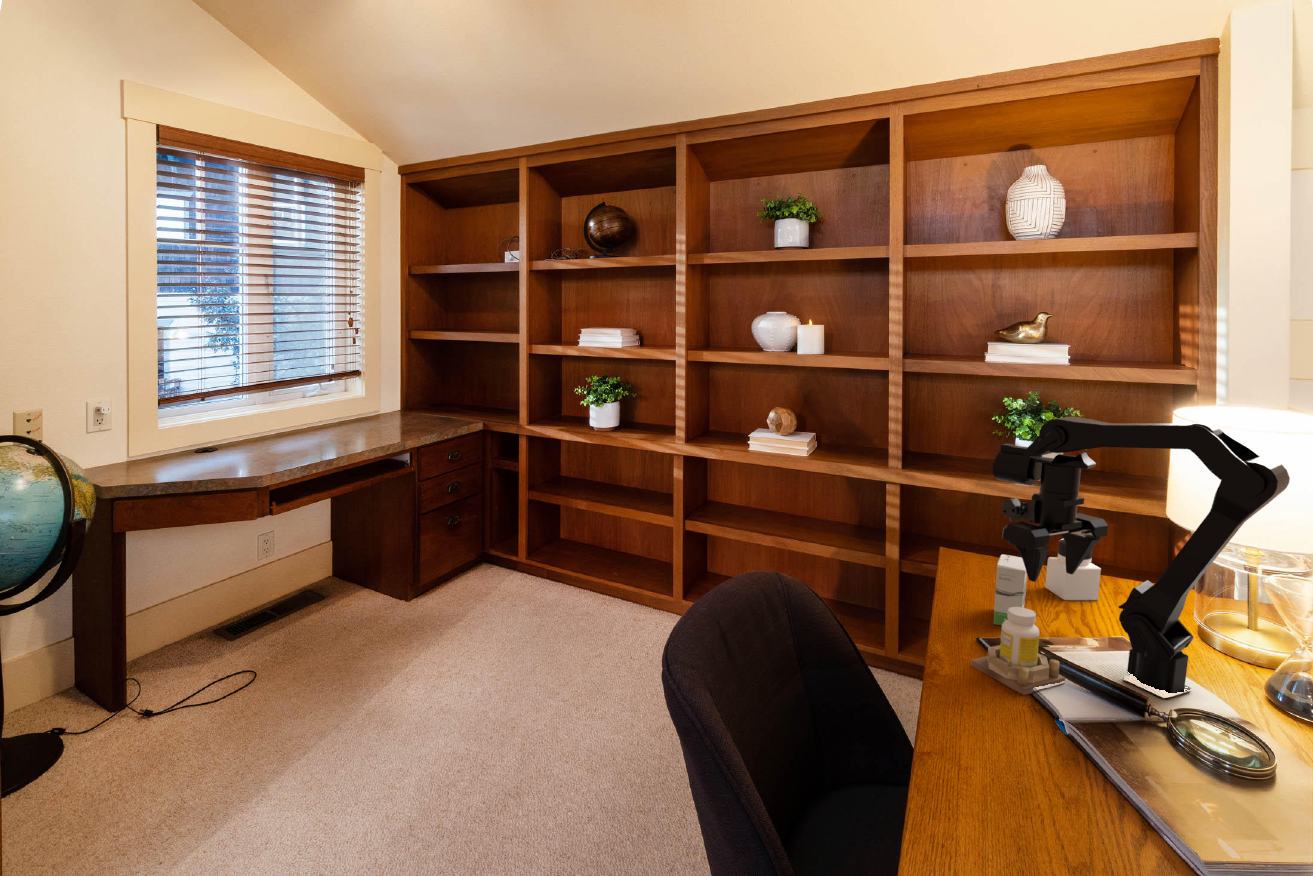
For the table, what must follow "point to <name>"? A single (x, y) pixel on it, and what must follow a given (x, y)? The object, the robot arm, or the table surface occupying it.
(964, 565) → the table surface
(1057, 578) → the medicine bottle
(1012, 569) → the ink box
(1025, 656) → the supplement bottle
